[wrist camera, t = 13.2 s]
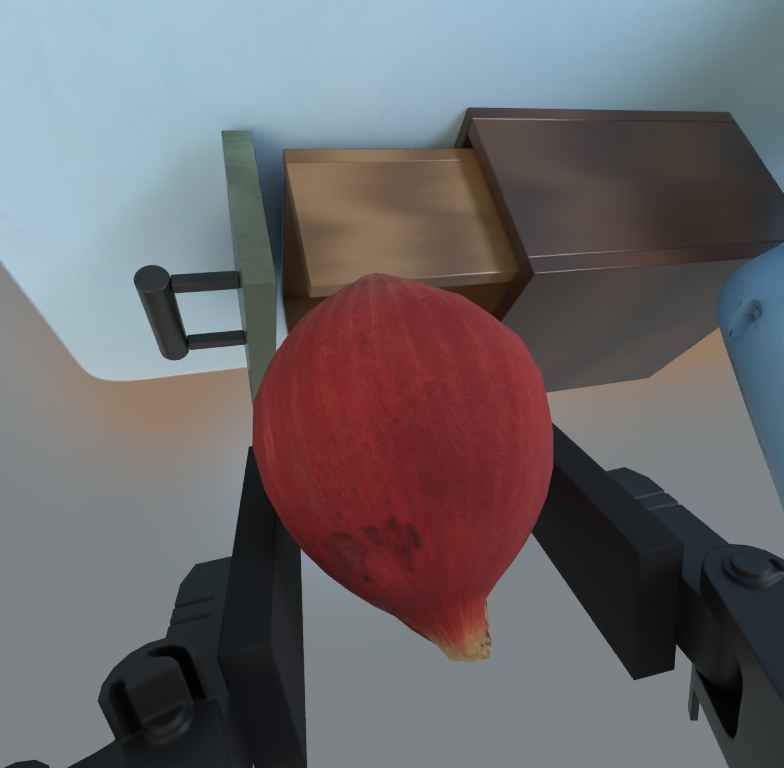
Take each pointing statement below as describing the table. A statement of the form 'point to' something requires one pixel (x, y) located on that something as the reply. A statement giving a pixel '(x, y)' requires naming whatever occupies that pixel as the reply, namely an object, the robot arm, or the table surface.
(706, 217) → the cabinet
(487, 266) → the drawer
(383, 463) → the onion
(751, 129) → the table surface
